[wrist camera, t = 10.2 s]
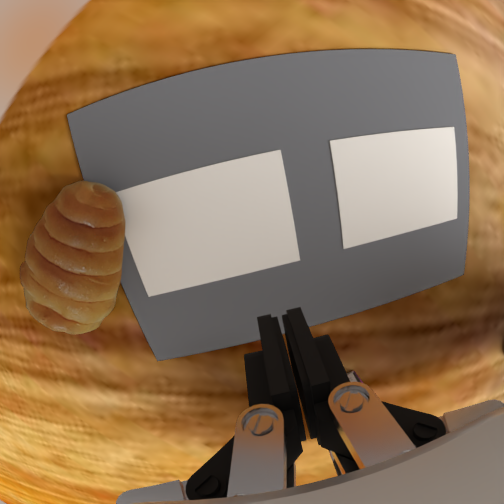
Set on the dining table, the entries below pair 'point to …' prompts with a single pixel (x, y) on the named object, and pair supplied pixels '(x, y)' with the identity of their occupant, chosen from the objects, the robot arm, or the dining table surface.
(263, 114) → the label mat
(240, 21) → the dining table surface
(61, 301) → the pastry
